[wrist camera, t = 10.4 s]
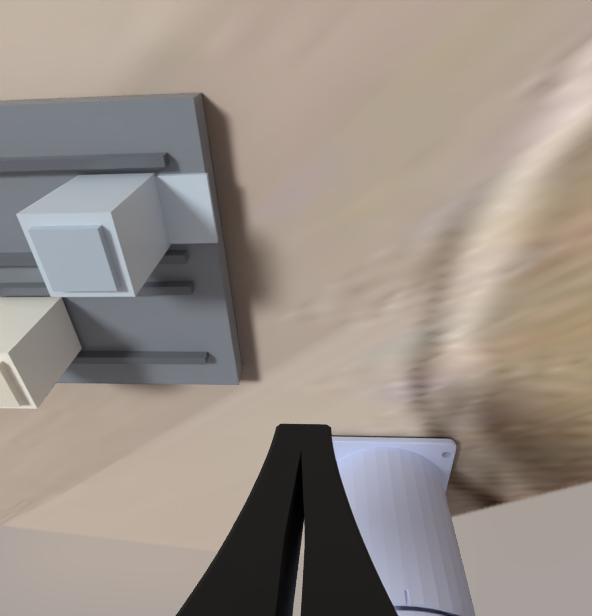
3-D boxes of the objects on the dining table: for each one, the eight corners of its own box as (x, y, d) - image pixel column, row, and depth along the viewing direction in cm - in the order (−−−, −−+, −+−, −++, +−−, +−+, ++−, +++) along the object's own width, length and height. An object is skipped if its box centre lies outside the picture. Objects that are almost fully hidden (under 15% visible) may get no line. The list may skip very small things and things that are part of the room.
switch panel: (244, 369, 23) (239, 391, 22) (13, 367, 24) (-6, 389, 23) (204, 92, 16) (192, 99, 15) (-126, 105, 17) (-166, 113, 16)
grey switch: (170, 245, 18) (132, 301, 14) (100, 246, 18) (46, 301, 15) (154, 172, 16) (106, 215, 13) (78, 175, 17) (10, 218, 13)
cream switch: (81, 348, 22) (33, 414, 18) (24, 347, 22) (-36, 412, 18) (61, 297, 20) (3, 358, 16) (-1, 297, 20) (-72, 357, 17)
